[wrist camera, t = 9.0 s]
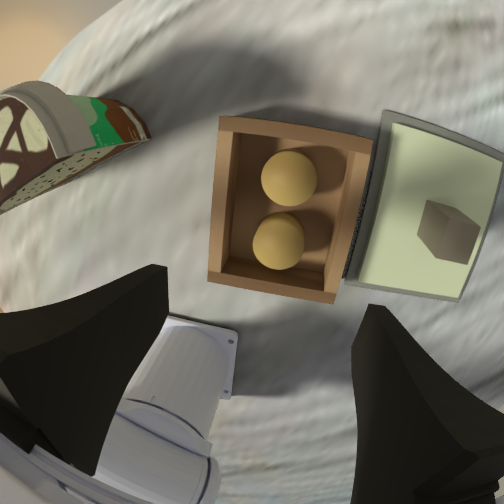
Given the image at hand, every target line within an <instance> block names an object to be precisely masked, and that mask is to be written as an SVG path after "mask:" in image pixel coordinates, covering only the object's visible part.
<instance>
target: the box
mask: <svg viewBox="0 0 504 504" xmlns="http://www.w3.org/2000/svg"><path fill="white" fill-rule="evenodd" d="M372 145H373V140H371V139H368V138H364V137H361V136H357V135H352V134H347V133H343V132H338V131H333V130H328V129H323V128H317V127H312V126H306V125H300V124H293V123H287V122H280V121H273V120H265V119H256V118H247V117H238V116H220V118H219V128H218V138H217V149H216V160H215V171H214V184H213V196H212V210H211V225H210V241H209V259H208V279H207V281H208V282H213V283H218V284H223V285H228V286H234V287H239V288H244V289H249V290H255V291H260V292H265V293H271V294H276V295H282V296H288V297H293V298H299V299H305V300H311V301H317V302H323V303H329V304H334V300H335V297H336V294H337V291H338V287H339V284H340V280H341V277H342V274H343V270H344V266H345V263H346V259H347V256H348V252H349V248H350V244H351V241H352V237H353V233H354V229H355V225H356V221H357V216H358V212H359V208H360V204H361V199H362V195H363V190H364V186H365V181H366V176H367V171H368V166H369V161H370V156H371V150H372Z"/></svg>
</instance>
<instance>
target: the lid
mask: <svg viewBox="0 0 504 504" xmlns="http://www.w3.org/2000/svg"><path fill="white" fill-rule="evenodd" d="M502 163H503V162H500V161H498V160H496V159H494V158H492V157H489V156H487V155H485V154H482V153H480V152H478V151H475V150H473V149H470V148H468V147H465V146H463V145H460V144H457V143H455V142H452V141H449V140H447V139H444V138H441V137H438V136H435V135H432V134H429V133H426V132H423V131H420V130H417V129H414V128H410V127H407V126H404V125H400V124H397V123H393V124H392V130H391V136H390V142H389V147H388V153H387V158H386V163H385V168H384V173H383V178H382V182H381V187H380V191H379V196H378V200H377V204H376V208H375V212H374V216H373V220H372V224H371V228H370V232H369V236H368V239H367V243H366V247H365V250H364V254H363V257H362V261H361V264H360V267H359V271H358V274H357V281H358V282H363V283H369V284H375V285H381V286H387V287H393V288H399V289H405V290H412V291H418V292H424V293H430V294H436V295H443V296H449V297H455V298H458V296H459V294H460V292H461V290H462V288H463V285H464V283H465V281H466V278H467V276H468V274H469V271H470V269H471V266H472V264H473V261H474V258H475V256H476V253H477V251H478V248H479V245H480V242H481V239H482V236H483V233H484V230H485V227H486V224H487V221H488V218H489V215H490V211H491V208H492V204H493V201H494V197H495V193H496V189H497V185H498V181H499V177H500V172H501V168H502Z"/></svg>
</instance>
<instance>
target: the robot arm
mask: <svg viewBox="0 0 504 504" xmlns="http://www.w3.org/2000/svg"><path fill="white" fill-rule="evenodd" d="M168 314H169V299H168V271H167V267H165V266H160V265H156V264H150V265H148V266H145V267H143V268H140V269H138V270H136V271H134V272H132V273H129V274H127V275H125V276H123V277H121V278H119V279H117V280H114V281H112V282H110V283H108V284H106V285H103V286H101V287H99V288H96V289H94V290H91V291H89V292H87V293H84V294H82V295H79V296H76V297H74V298H71V299H67V300H64V301H61V302H58V303H54V304H50V305H46V306H42V307H38V308H34V309H29V310H23V311H17V312H9V313H0V504H214V503H215V501H216V498H217V495H218V492H219V489H220V484H221V471H220V468H219V464H218V462H217V460H216V459H215V458H214V457H211V456H209V454H210V451H211V448H212V443H210V442H208V441H206V440H207V437H208V434H209V431H210V428H211V425H212V422H213V419H214V415H215V412H216V409H217V406H218V403H219V400H220V399H223V400H229V399H230V398H231V393H232V384H233V375H234V367H235V358H236V350H237V341H238V333H237V332H236V331H234V330H230V329H225V328H220V327H216V326H211V325H207V324H202V323H198V322H194V321H189V320H185V319H181V318H177V317H173V316H169V315H168ZM229 339H231V340H233V341H231V340H229ZM351 361H352V379H353V388H354V396H355V405H356V414H357V427H358V439H357V458H356V468H355V478H354V485H353V491H352V498H351V503H350V504H504V495H503V496H501V497H499V498H497V499H495V496H494V492H496V491H498V490H499V483H498V480H499V479H500V478H501V477H503V476H504V414H503V413H501V412H499V411H498V410H496V409H494V408H493V407H491V406H490V405H488V404H486V403H485V402H483V401H482V400H480V399H479V398H477V397H476V396H475V395H473V394H472V393H471V392H469V391H468V390H467V389H465V388H464V387H463V386H461V385H460V384H459V383H458V382H457V381H455V380H454V379H453V378H452V377H451V376H450V375H449V374H448V373H446V372H445V371H444V370H443V369H442V368H441V367H440V366H439V365H438V364H437V363H436V362H435V361H434V360H433V359H432V358H431V357H430V356H429V355H428V354H427V353H426V352H425V351H424V350H423V348H422V347H421V346H420V345H419V344H418V343H417V342H416V341H415V339H414V338H413V337H412V336H411V335H410V334H409V333H408V331H407V330H406V329H405V328H404V327H403V326H402V324H401V323H400V322H399V321H398V320H397V319H396V317H395V316H394V315H393V314H392V313H391V312H390V311H389V310H388V309H387V308H386V307H385V306H381V305H375V304H369V305H368V307H367V310H366V312H365V315H364V318H363V320H362V323H361V325H360V328H359V330H358V333H357V335H356V338H355V340H354V342H353V345H352V359H351Z"/></svg>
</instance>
